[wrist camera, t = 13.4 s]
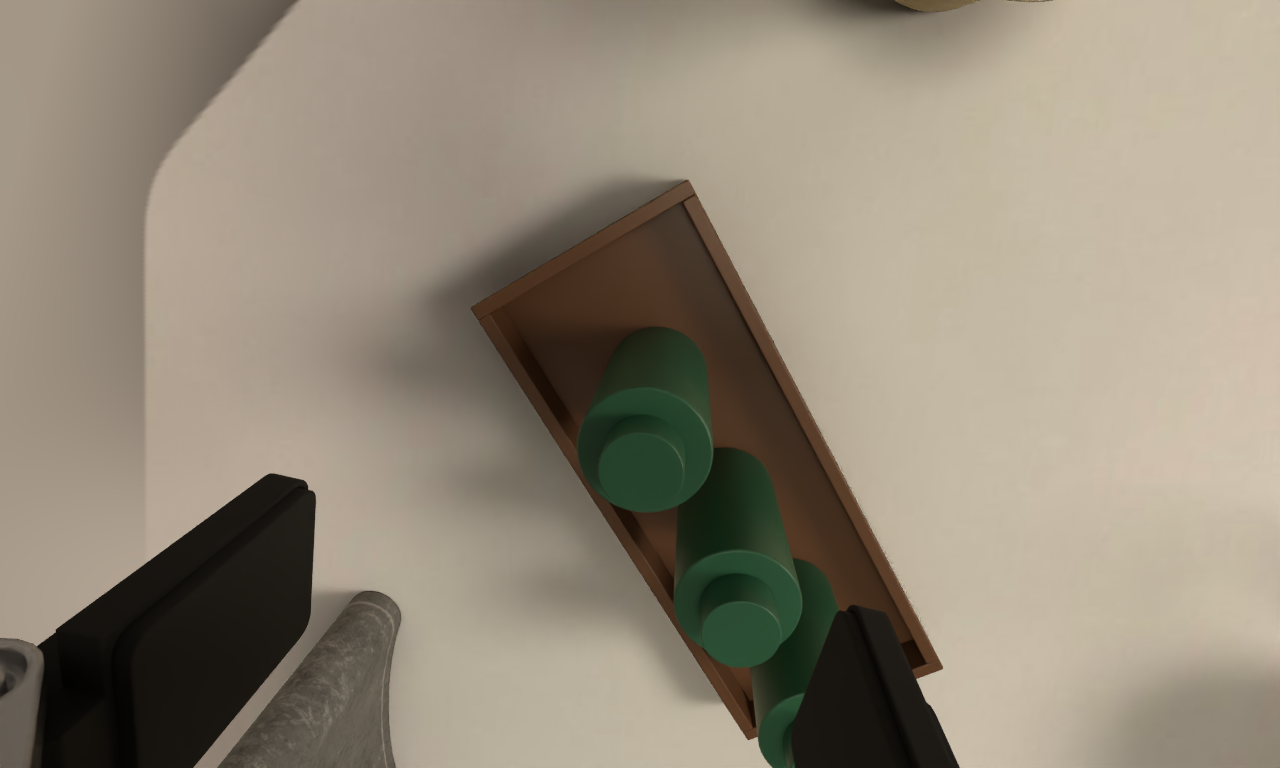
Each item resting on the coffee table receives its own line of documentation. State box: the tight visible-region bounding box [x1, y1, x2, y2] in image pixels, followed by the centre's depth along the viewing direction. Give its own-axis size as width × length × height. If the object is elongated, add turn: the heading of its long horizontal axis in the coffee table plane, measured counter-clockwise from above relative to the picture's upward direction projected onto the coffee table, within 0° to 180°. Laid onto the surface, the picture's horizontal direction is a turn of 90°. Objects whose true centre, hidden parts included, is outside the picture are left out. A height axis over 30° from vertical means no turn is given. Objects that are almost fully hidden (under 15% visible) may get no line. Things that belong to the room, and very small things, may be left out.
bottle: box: [577, 327, 713, 512], centre depth 24 cm, size 4×4×10 cm
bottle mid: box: [674, 448, 802, 668], centre depth 25 cm, size 4×4×10 cm
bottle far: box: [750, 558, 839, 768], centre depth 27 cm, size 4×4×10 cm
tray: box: [471, 180, 943, 740], centre depth 29 cm, size 25×10×2 cm, turn 30°
